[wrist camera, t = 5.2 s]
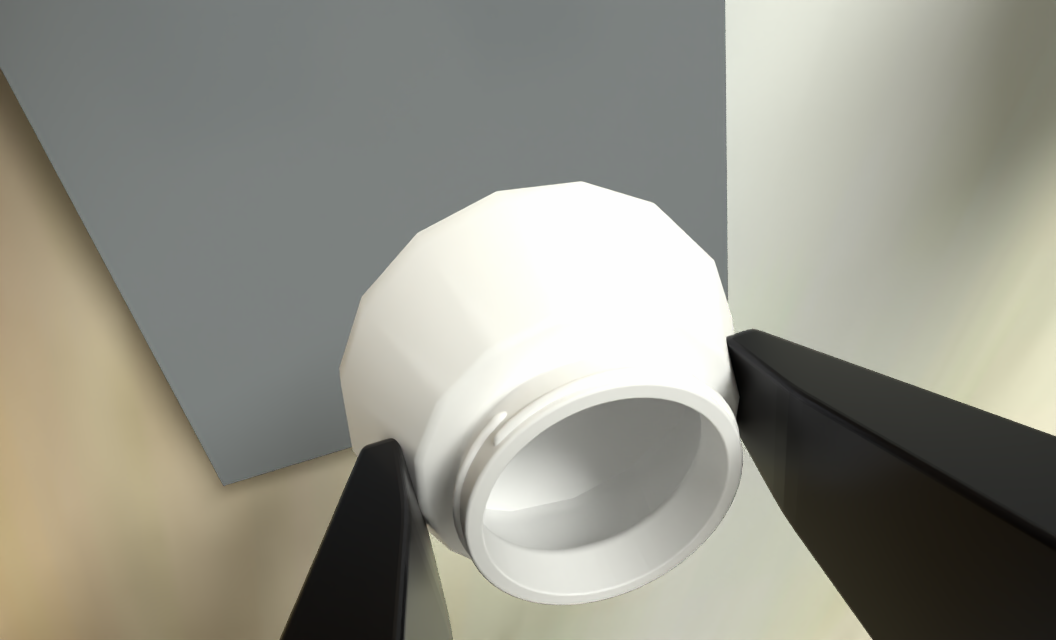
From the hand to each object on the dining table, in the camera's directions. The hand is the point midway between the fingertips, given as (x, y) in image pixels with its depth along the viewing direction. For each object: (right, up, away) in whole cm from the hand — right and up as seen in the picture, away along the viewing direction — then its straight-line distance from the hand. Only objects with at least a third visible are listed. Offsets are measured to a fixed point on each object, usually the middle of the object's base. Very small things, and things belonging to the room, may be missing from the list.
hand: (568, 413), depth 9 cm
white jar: (0, +1, +2) cm, 2 cm away
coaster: (-3, +5, +9) cm, 10 cm away
